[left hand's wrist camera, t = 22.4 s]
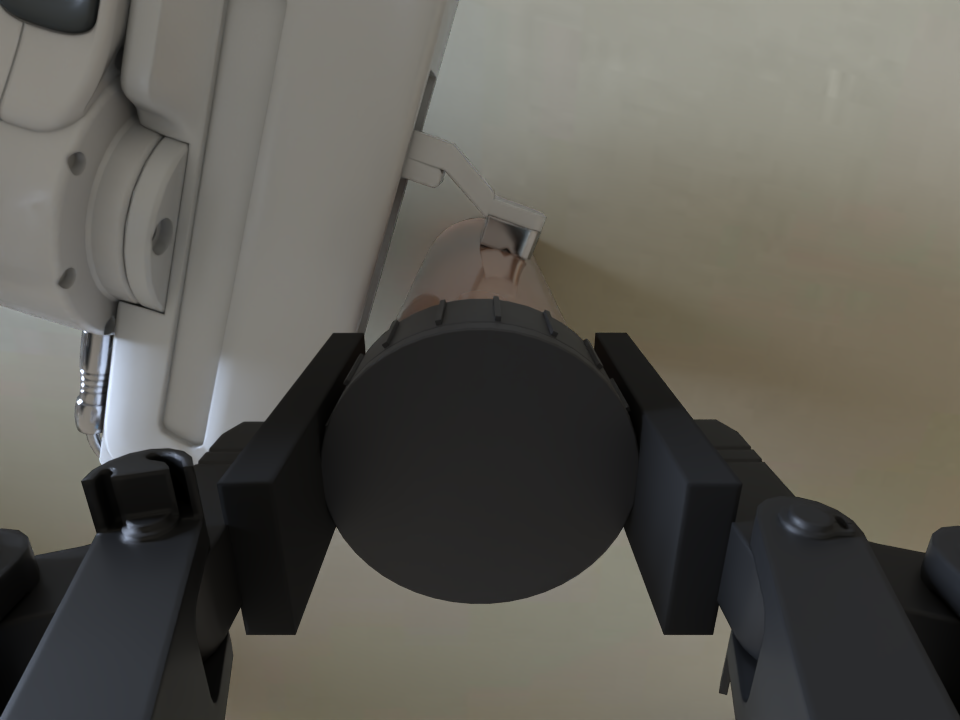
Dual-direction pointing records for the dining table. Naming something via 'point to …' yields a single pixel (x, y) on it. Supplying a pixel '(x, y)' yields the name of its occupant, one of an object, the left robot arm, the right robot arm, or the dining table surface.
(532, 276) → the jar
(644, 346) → the dining table surface
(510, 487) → the lid
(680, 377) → the dining table surface
